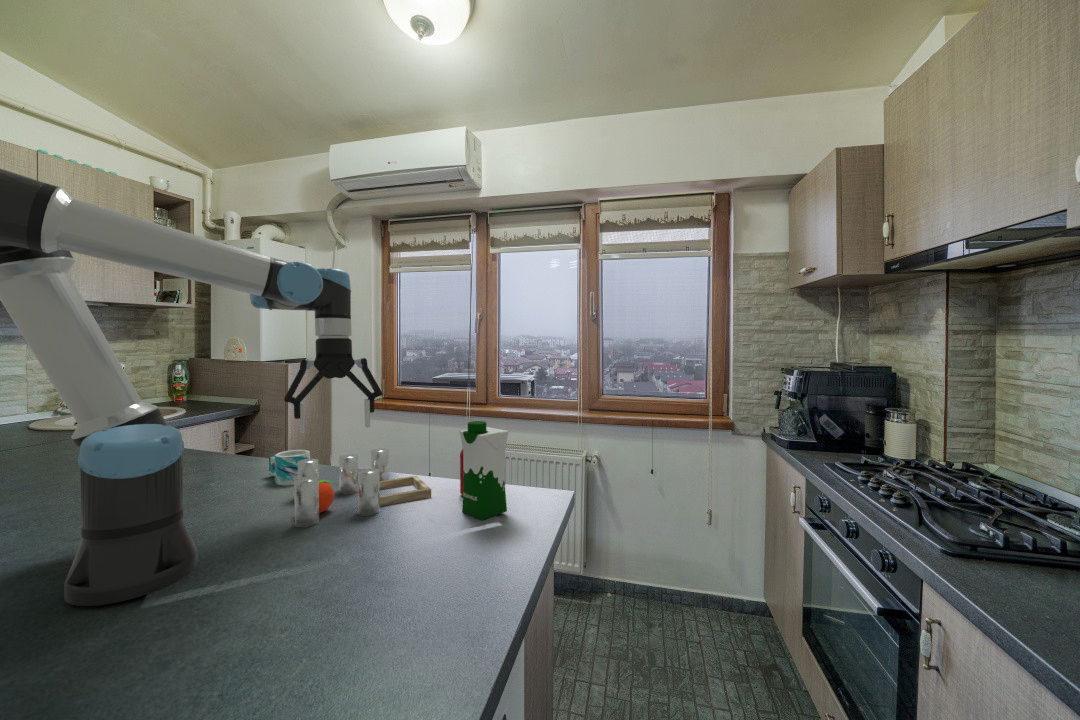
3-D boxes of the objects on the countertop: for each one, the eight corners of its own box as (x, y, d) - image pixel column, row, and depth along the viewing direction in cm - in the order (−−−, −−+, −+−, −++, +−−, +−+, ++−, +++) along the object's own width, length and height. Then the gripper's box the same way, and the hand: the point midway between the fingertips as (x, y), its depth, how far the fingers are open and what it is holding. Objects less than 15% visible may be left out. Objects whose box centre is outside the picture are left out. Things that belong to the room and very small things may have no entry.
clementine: (332, 503, 100) (332, 473, 99) (344, 511, 95) (343, 479, 94) (294, 512, 94) (294, 480, 94) (304, 521, 89) (303, 487, 89)
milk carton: (456, 512, 94) (455, 421, 94) (487, 501, 101) (487, 417, 100) (481, 523, 88) (481, 426, 88) (513, 511, 95) (513, 421, 94)
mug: (287, 490, 109) (287, 457, 109) (258, 484, 114) (258, 453, 114) (316, 481, 116) (316, 451, 116) (288, 476, 122) (287, 446, 122)
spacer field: (409, 508, 97) (409, 468, 96) (295, 529, 85) (294, 484, 85) (386, 480, 118) (386, 447, 117) (292, 494, 106) (292, 458, 106)
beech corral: (431, 497, 104) (431, 489, 104) (373, 507, 97) (373, 498, 97) (416, 483, 115) (416, 475, 115) (364, 491, 108) (364, 483, 108)
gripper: (386, 338, 108) (388, 421, 109) (270, 338, 95) (273, 433, 96) (393, 337, 101) (395, 426, 102) (269, 337, 89) (272, 439, 89)
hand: (336, 429), depth 99 cm, fingers open, 13 cm apart
